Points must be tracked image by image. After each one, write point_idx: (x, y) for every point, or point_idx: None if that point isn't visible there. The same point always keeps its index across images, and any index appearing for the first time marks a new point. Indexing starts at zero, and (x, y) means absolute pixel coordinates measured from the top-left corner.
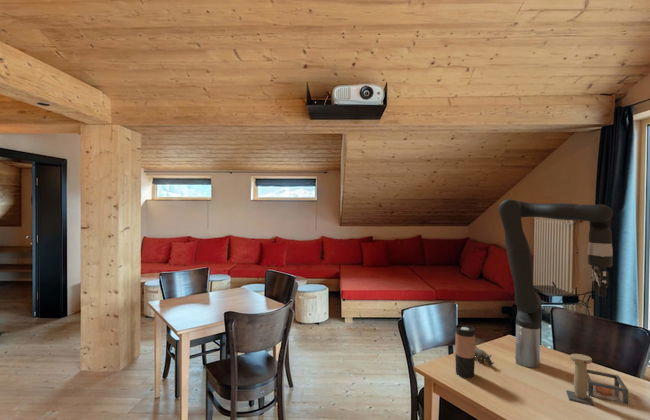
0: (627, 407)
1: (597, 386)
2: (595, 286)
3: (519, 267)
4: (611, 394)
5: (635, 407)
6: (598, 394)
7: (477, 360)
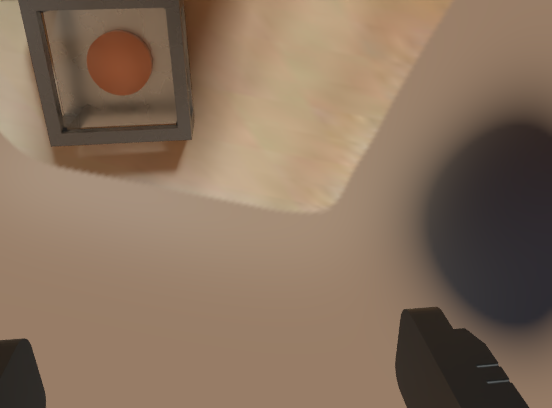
0: (41, 118)
1: (105, 38)
2: (433, 393)
3: None
4: None
5: None
6: (63, 31)
7: None
